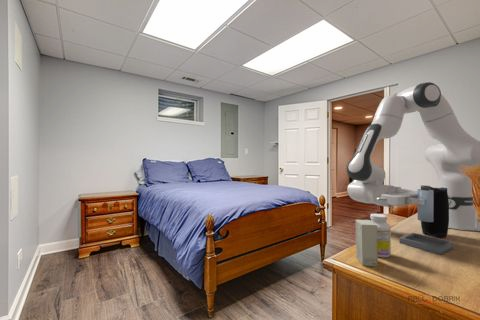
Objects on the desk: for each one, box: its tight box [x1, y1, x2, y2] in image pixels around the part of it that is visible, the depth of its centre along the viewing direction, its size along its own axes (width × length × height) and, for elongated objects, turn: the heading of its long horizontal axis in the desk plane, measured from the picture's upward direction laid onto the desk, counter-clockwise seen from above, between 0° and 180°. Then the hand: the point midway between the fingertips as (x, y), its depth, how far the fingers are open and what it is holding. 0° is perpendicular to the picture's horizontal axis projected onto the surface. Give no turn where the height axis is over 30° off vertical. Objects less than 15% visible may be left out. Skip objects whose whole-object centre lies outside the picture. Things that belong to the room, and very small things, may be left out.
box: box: [398, 232, 454, 256], centre depth 81 cm, size 11×12×2 cm
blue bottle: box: [417, 185, 433, 222], centre depth 81 cm, size 4×4×12 cm
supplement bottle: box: [369, 213, 392, 258], centre depth 74 cm, size 7×7×13 cm
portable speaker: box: [420, 186, 449, 239], centre depth 92 cm, size 9×9×20 cm
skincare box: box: [355, 219, 379, 267], centre depth 68 cm, size 6×4×12 cm
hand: (428, 201), depth 80 cm, fingers closed on blue bottle, 4 cm apart
